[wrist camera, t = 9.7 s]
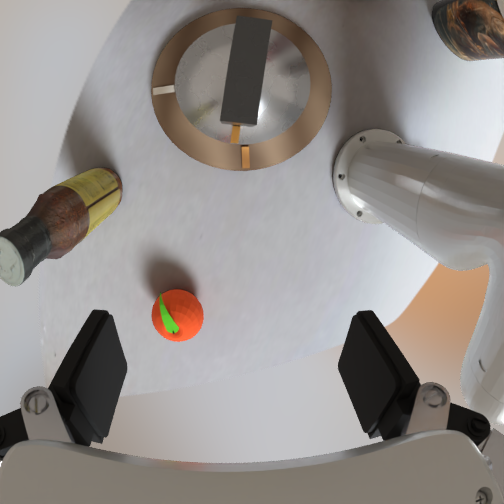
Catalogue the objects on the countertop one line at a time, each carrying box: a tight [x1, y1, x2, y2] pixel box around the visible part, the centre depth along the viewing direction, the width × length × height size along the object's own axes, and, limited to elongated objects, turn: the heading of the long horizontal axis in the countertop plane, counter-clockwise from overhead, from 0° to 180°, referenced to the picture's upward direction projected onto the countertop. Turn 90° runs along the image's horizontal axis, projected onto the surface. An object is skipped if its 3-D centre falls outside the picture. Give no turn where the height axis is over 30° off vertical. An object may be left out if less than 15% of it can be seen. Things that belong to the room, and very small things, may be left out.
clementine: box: [152, 289, 204, 342], centre depth 35 cm, size 8×7×7 cm
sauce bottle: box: [0, 168, 122, 286], centre depth 22 cm, size 7×6×20 cm
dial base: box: [151, 8, 332, 171], centre depth 27 cm, size 20×20×2 cm
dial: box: [175, 16, 310, 145], centre depth 22 cm, size 14×14×7 cm
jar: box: [432, 0, 504, 61], centre depth 16 cm, size 12×12×15 cm
